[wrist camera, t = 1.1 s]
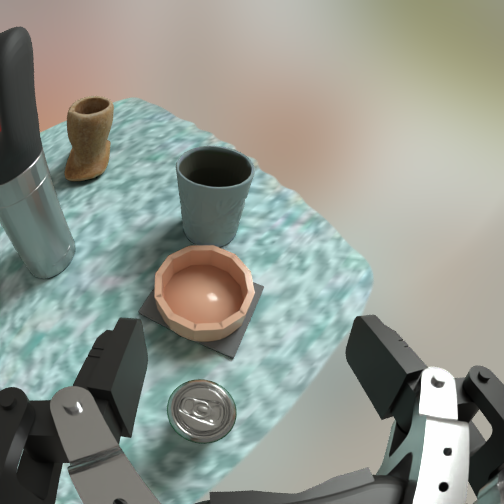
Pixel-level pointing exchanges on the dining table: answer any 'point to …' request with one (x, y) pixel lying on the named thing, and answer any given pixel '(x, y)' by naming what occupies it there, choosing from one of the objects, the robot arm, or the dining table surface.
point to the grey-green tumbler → (213, 193)
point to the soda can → (201, 411)
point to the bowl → (203, 292)
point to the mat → (223, 346)
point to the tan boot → (88, 137)
